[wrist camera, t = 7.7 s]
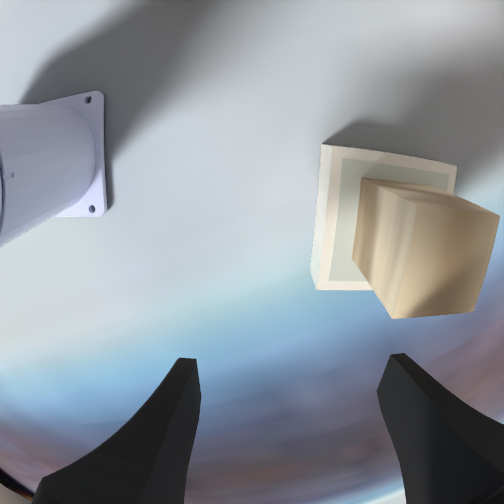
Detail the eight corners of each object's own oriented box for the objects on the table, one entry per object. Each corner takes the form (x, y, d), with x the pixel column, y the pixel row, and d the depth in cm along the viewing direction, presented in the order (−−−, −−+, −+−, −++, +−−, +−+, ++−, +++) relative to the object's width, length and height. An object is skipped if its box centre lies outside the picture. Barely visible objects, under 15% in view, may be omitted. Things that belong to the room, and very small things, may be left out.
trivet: (309, 270, 20) (316, 290, 17) (321, 143, 17) (332, 145, 14) (415, 272, 20) (432, 289, 17) (436, 160, 17) (457, 166, 14)
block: (351, 258, 16) (392, 318, 11) (361, 177, 15) (416, 205, 9) (418, 259, 16) (472, 311, 11) (431, 185, 15) (499, 215, 9)
